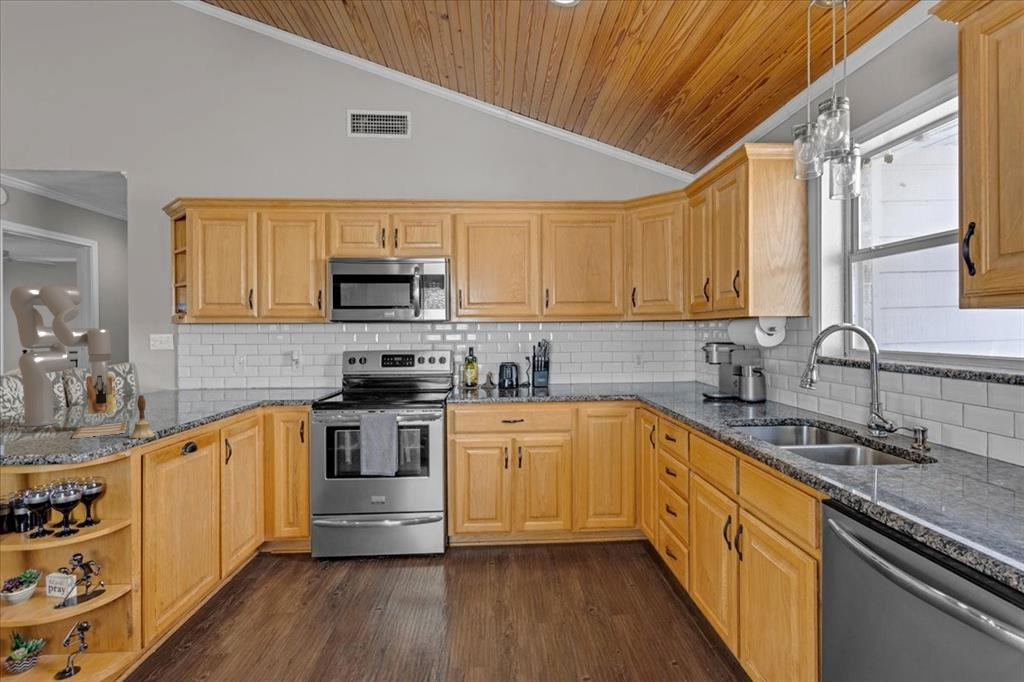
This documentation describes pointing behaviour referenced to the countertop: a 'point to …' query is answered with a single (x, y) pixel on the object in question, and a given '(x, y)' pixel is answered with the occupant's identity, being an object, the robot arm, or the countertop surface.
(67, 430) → the countertop surface
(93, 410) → the candy box
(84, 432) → the board
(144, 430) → the hand bell
